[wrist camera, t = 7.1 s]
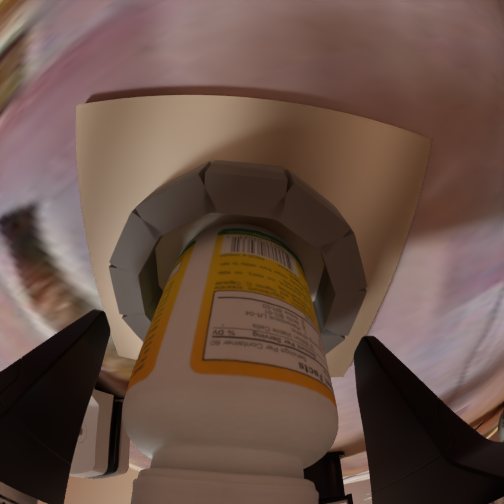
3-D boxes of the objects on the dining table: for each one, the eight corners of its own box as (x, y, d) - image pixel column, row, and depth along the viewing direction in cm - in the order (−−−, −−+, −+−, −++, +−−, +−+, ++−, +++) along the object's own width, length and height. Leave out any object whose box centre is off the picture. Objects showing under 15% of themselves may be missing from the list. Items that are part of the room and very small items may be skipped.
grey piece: (93, 369, 17) (92, 491, 10) (135, 386, 20) (139, 492, 13) (21, 377, 20) (16, 452, 13) (51, 391, 24) (49, 461, 17)
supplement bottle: (280, 199, 10) (353, 540, 1) (315, 305, 12) (361, 522, 4) (151, 246, 11) (45, 489, 2) (208, 334, 13) (186, 530, 5)
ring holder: (425, 137, 9) (463, 149, 6) (341, 370, 15) (349, 402, 13) (83, 104, 8) (44, 109, 6) (121, 350, 15) (108, 380, 13)
